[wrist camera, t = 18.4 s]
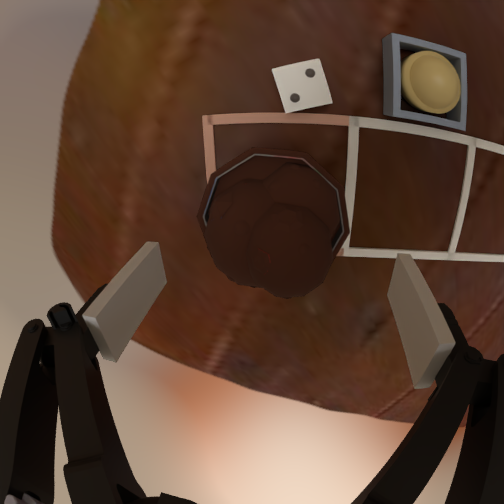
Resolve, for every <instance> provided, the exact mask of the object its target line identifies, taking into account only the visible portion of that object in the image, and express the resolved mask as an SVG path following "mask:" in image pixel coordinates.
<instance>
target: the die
mask: <svg viewBox="0 0 504 504" xmlns="http://www.w3.org/2000/svg"><path fill="white" fill-rule="evenodd" d="M272 72H273V75H274V78H275V81H276V84H277V87H278V90H279V94H280V97H281V100H282V103H283V106H284V110H285V113H290V112H294V111H298V110H303V109H307V108H312V107H316V106H321V105H326V104H331V103H333V102H332V98H331V95H330V91H329V88H328V85H327V81H326V78H325V75H324V71H323V68H322V65H321V62H320V59H314V60H309V61H304V62H299V63H295V64H290V65H286V66H282V67H278V68H274V69H272Z"/></svg>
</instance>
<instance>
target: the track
mask: <svg viewBox="0 0 504 504" xmlns="http://www.w3.org/2000/svg"><path fill="white" fill-rule="evenodd" d="M202 119H203V134H204V149H205V162H206V175H207V184H208V181H209V178H210V175H211V174H212V173H213V172H215V171H216V156H215V141H214V125H216V124H237V123H307V124H328V125H342V126H348V150H347V169H346V184H345V200H346V206H347V213H348V220H349V228H350V234H351V226H352V217H353V208H354V198H355V187H356V174H357V160H358V141H359V127H364V128H374V129H382V130H390V131H397V132H404V133H410V134H417V135H422V136H428V137H433V138H438V139H443V140H448V141H453V142H457V143H462V144H466V145H468V148H467V157H466V165H465V172H464V178H463V184H462V190H461V196H460V201H459V206H458V211H457V215H456V220H455V224H454V228H453V232H452V236H451V240H450V244H449V248H448V251H426V250H405V249H383V248H359V247H349V242H350V234H349V235H348V237H347V239H346V240H345V242H344V244H343V246H342V247H341V249H340V251H339V252H338V254H337V256H352V257H379V258H396V257H397V253H404V254H410V255H411V256H412V258H413V259H433V260H460V261H487V262H504V254H485V253H467V252H455V250H456V247H457V243H458V239H459V236H460V232H461V228H462V224H463V220H464V215H465V211H466V206H467V201H468V196H469V191H470V185H471V179H472V173H473V166H474V158H475V150H476V147H478V148H482V149H486V150H490V151H493V152H497V153H500V154H503V155H504V146H502V145H499V144H496V143H492V142H489V141H486V140H482V139H478V138H475V137H471V136H467V135H463V134H459V133H455V132H450V131H446V130H441V129H436V128H431V127H426V126H421V125H415V124H410V123H403V122H397V121H390V120H383V119H375V118H366V117H356V116H345V115H332V114H314V113H234V114H217V115H203V116H202Z"/></svg>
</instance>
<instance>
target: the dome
mask: <svg viewBox="0 0 504 504" xmlns="http://www.w3.org/2000/svg"><path fill="white" fill-rule="evenodd" d="M400 67H401V95H402V96H403V98H404V99H405V100H406V101H407V102H408V103H409V104H410V105H411V106H412V107H414V108H416V109H418V110H420V111H424V112H430V113H437V114H441V113H446V112H448V111H450V110H452V109H453V108H454V107H455V106H456V104H457V103H458V101H459V98H460V93H461V85H460V80H459V77H458V74H457V72H456V70H455V68H454V67H453V65H452V64H451V63H450V62H449V61H448V60H447V59H446V58H445V57H444V56H442V55H440V54H438V53H436V52H433V51H420V52H417V53H414V54H411V55H408V56H406V57H405V58H404V59H403V60H402V61H401V62H400Z"/></svg>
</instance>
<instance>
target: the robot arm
mask: <svg viewBox="0 0 504 504" xmlns="http://www.w3.org/2000/svg"><path fill="white" fill-rule="evenodd" d="M166 283H167V281H166V276H165V272H164V267H163V262H162V257H161V252H160V247H159V242H146V243H145V244H144V245H143V247H142V248H141V249H140V250H139V251H138V252H137V253H136V254H135V255H134V256H133V257H132V258H131V259H130V260H129V262H128V263H127V264H126V265H125V266H124V267H123V268H122V269H121V270H120V271H119V273H118V274H117V275H116V276H115V277H114V278H113V279H112V280H111V282H110V283H109V284H105V285H103V286H102V287H100V288H98V289H97V290H96V292H95V293H94V294H93V296H91V297H90V298H89V300H88V301H87V302H86V303H85V304H84V305H83V307H82V308H81V309H80V310H79V311H78V313H77V314H76V315H75V313H74V311H73V309H72V307H71V305H70V304H68V303H59V304H57V305H55V306H53V307H52V308H51V309H50V310H49V311H48V313H47V317H48V319H49V321H50V323H51V325H52V327H45V325H44V323H43V321H42V320H40V319H33V320H31V321H29V322H28V323H27V324H26V325H25V326H24V328H23V330H22V332H21V335H20V337H19V340H18V343H17V346H16V348H15V351H14V354H13V357H12V360H11V363H10V366H9V370H8V373H7V376H6V380H5V383H4V386H3V390H2V394H1V398H0V504H53V502H54V459H55V438H56V424H57V414H58V405H59V412H60V419H61V425H62V431H63V437H64V442H65V447H66V452H67V456H68V464H66V465H64V468H63V471H64V477H65V480H66V484H67V488H68V492H69V495H70V498H71V502H72V504H197V503H195V502H193V501H191V500H187V499H183V498H179V497H176V496H172V495H169V494H165V493H162V492H161V494H160V497H146V495H145V493H144V491H143V490H142V488H141V487H140V485H139V484H138V483H137V481H136V479H135V477H134V475H133V473H132V470H131V468H130V466H129V463H128V460H127V458H126V455H125V452H124V449H123V447H122V444H121V441H120V438H119V435H118V432H117V429H116V426H115V423H114V420H113V416H112V413H111V410H110V406H109V403H108V399H107V395H106V392H105V388H104V384H103V380H102V375H101V371H100V367H99V362H98V359H97V357H96V354H97V353H98V352H99V351H100V353H101V355H102V357H103V358H104V359H106V360H109V361H113V362H117V360H118V359H119V357H120V355H121V354H122V352H123V351H124V349H125V347H126V346H127V344H128V342H129V341H130V339H131V337H132V336H133V334H134V333H135V331H136V329H137V328H138V326H139V325H140V323H141V321H142V320H143V318H144V317H145V315H146V314H147V312H148V310H149V309H150V307H151V306H152V304H153V303H154V301H155V300H156V298H157V297H158V295H159V294H160V292H161V290H162V289H163V287H164V286H165V284H166ZM387 296H388V299H389V302H390V305H391V308H392V311H393V314H394V317H395V320H396V324H397V327H398V330H399V333H400V337H401V340H402V343H403V347H404V350H405V354H406V358H407V361H408V365H409V369H410V373H411V377H412V381H413V385H414V389H418V388H428V387H430V386H431V384H432V383H433V381H434V380H436V384H437V387H436V389H435V390H434V391H433V393H432V394H431V396H430V397H429V399H428V402H427V404H426V406H425V407H424V409H423V411H422V412H421V414H420V415H419V417H418V419H417V420H416V422H415V423H414V425H413V426H412V428H411V429H410V431H409V432H408V434H407V435H406V437H405V438H404V440H403V441H402V442H401V444H400V445H399V447H398V448H397V449H396V451H395V452H394V454H393V455H392V456H391V457H390V459H389V460H388V462H387V463H386V464H385V465H384V466H383V468H382V469H381V470H380V471H379V473H378V474H377V475H376V476H375V477H374V479H373V480H372V481H371V482H370V483H369V484H368V486H367V487H366V488H365V489H364V490H363V491H362V492H361V493H360V495H359V496H358V497H357V498H356V499H355V500H354V501H353V502H352V503H351V504H413V503H414V502H415V500H416V499H417V498H418V496H419V495H420V493H421V492H422V490H423V489H424V487H425V486H426V484H427V483H428V481H429V480H430V478H431V477H432V475H433V473H434V472H435V470H436V468H437V467H438V465H439V463H440V461H441V460H442V458H443V456H444V454H445V453H446V451H447V449H448V447H449V445H450V443H451V441H452V439H453V437H454V435H455V433H456V431H457V429H458V427H459V425H460V423H461V421H462V419H463V416H464V414H465V412H466V410H467V407H468V405H469V404H470V405H469V412H468V418H467V423H466V429H465V434H464V439H463V443H462V448H461V452H460V456H459V460H458V463H457V467H456V471H455V474H454V478H453V481H452V484H451V487H450V490H449V493H448V496H447V499H446V501H445V504H504V354H502V355H501V356H500V357H499V358H498V360H497V361H492V360H487V359H483V356H482V354H481V353H480V352H479V351H478V350H477V349H476V348H474V347H471V346H469V345H468V343H467V341H466V339H465V337H464V334H463V332H462V330H461V328H460V326H458V322H457V320H456V319H455V316H454V314H453V312H452V311H451V309H450V308H449V307H448V306H447V305H445V304H444V303H437V302H436V300H435V298H434V296H433V294H432V292H431V290H430V289H429V287H428V285H427V283H426V281H425V279H424V277H423V276H422V274H421V272H420V270H419V269H418V267H417V265H416V263H415V262H414V260H413V258H412V256H411V255H410V254H404V253H397V257H396V262H395V266H394V270H393V274H392V278H391V282H390V286H389V290H388V293H387Z"/></svg>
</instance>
